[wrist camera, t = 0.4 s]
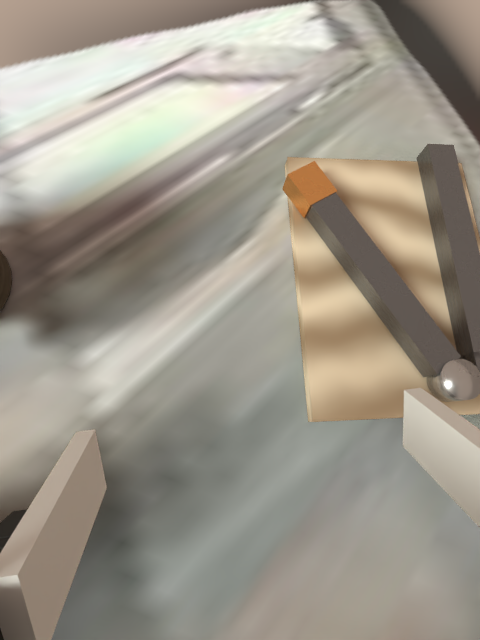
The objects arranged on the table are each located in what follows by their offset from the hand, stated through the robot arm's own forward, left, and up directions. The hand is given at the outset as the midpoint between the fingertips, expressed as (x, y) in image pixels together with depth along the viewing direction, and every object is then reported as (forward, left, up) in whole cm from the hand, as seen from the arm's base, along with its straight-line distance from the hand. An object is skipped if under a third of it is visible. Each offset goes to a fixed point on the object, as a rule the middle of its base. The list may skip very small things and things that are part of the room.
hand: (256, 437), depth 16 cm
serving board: (+15, -18, -19) cm, 30 cm away
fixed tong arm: (+16, -24, -17) cm, 34 cm away
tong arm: (+14, -15, -17) cm, 26 cm away
